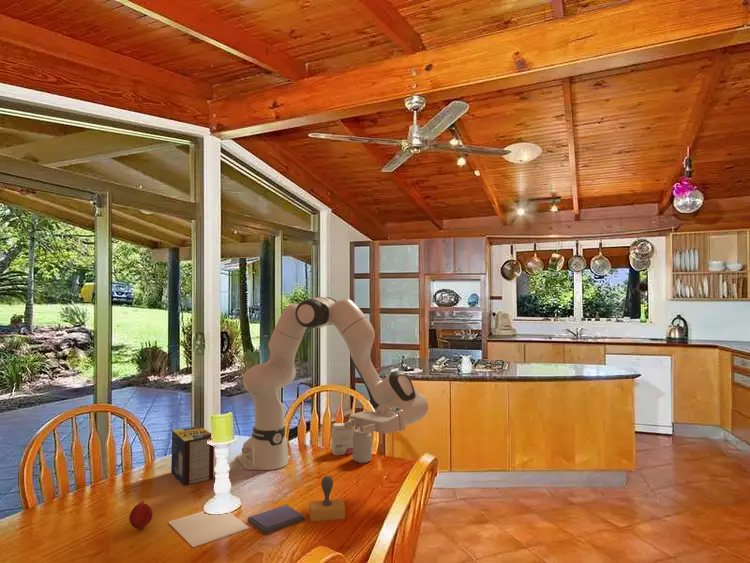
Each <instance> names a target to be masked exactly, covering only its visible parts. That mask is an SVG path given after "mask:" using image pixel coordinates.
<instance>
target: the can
mask: <svg viewBox="0 0 750 563" xmlns="http://www.w3.org/2000/svg"><path fill="white" fill-rule="evenodd" d="M372 436H373V433H372V432H366V433H362V432H361V429H360V428H359V427H358V428H356V429H354V433H353V454H352V459H353V461H354V462H355V463H357V462H358V463H359V464H367V463H369V462H370V461H371V460H372V451H373V450H372V446H373V444H372V442H373V437H372Z"/></svg>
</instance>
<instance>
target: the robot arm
mask: <svg viewBox="0 0 750 563" xmlns="http://www.w3.org/2000/svg"><path fill="white" fill-rule="evenodd" d="M330 325H333V326H334V327H335V328H336V329H337V331H338V332H339V334H340V336H342V338H343V339H344V342H345V344H346V345H347V349H348V350H349V355H350V359H351V362H352V363H353V365H354V368H355V369H356V371H357V373H358V375H359V377H360V379H361V381H362V382H363V385H364V387H365V388H366V391H367V394H368V398H369V401H370V403H371V405H372V406H373V407H374V408H375V409H376V410H375V411H372V410H364V411H358V412H355V413H352V414H350V415H349V416H348V421H346V422H343V423H344V428H346V429H349V428H351V427H352V426H354V428H358V429H359V428H360V429H361V432H362V433H366V432H370V433H372V432H376V433H380V434H391V433H396V432H403V431H406V425H412V424H414V423H416V422H418V421H420V420H422V419H424V418H425V417H426V415H427V414H428V412H429V402H428V400H427V397H425V395H423V394H422V393H420V392H419V391H418V390H417V389H416V388H415V386H414V385H413V381H412V379H411V377H410V376H409V375H408V374H407V373H405V372H403V371H401V370H395V371H393V372H391V373H389V374H388V375H387V376H385V377H384V379H383V380H382V379H381V377H380V375H379V374H378V372H377V370H376V368H375V366H374V364H373V362H372V359H371V354H372V353H371V352H372V348H373V344H374V342H375V338H376V332H375V328H374V327H373V324H372V323H371V322H370V320H369V319H368V317H367V316H366V315H365V313H363V311H362V309H360V308H359V306H358V305H357V304H356V303H355V302H354V301H353V300H352V299H350V298H340V299H339V300H336V299H334V298H332V297H327V296H326V297H323V296H317V297H315V298H314V297H313V298H312V297H311V298H306V299H304V300H302V301H301V302H300V303H290V304H288V305H287V306H286V307H285V308H284V310H283V312H282V313H281V315H280V316H279V319H278V320H277V322H276V325H275V327H274V329H273V332H272V334H271V337H270V339H269V342H268V345H267V347H268V349H269V351H270V353H269V359H268V360H267V361H266V362H263V363H259V364H255V365H254V366H252V367H250V368H249V369H247V370H246V371H245V372H244V373H243V377H242V383H243V387H244V389H245V390H246V391H247V392H248V393H249V395H250V396H251V399H252V402H253V405H254V426H252V427H251V430H252V433H251V436H250V437H249V438H248V439H247V440H246V441H244V443H243V445H242V448H241V453H239V454H237V455H236V456H235V459H236V460H237V461H238V462H239V463H240V464H241V466H242V467H243V468H244V469H245V470H248V471H249V470H250V471H252V470H258V471H272V470H277V469H281V468H284V467H286V466H287V465H288V463H289V461H290V460H291V456H290V455H289V452H288V451H289V450H288V439H287V437H285V436H286V426H285V406H284V404H283V402H281V401H280V399H279V395H278V394H279V393H278V390H279V389H282V388H285V387H287V386H288V385H289V384H291V383H292V382H293V381H295V378H296V374H297V371H296V368H295V360H296V354H297V352H298V350H299V347H300V345H301V342H302V340H303V338H304V335H305V332H306V330H307V329H317V328H318V329H319V328H324V327H327V326H330Z"/></svg>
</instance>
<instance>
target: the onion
mask: <svg viewBox="0 0 750 563" xmlns="http://www.w3.org/2000/svg"><path fill="white" fill-rule="evenodd" d="M153 515H154V514H153V509H152V508H151V507H150V505H149V504H147V503H145V501H144V500H141V501H140V502H138V504H136V505H135V506H134V507H133V508H132V510H131V512H130V514H129V518H128V519H129V523H130V525H131V526H132V527H133V528H135V529H138V530H140V531H143V529H145V528H146V527H147V526H148V525H149V524H150V523H151V521H152V519H153Z"/></svg>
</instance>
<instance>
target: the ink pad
mask: <svg viewBox="0 0 750 563" xmlns="http://www.w3.org/2000/svg"><path fill="white" fill-rule="evenodd" d="M305 520H306V515H304V514H302V513H300V512H299V511H298V510H296V509H294V508H293V507H290V506H289V505H288V504H284V505H281V506H278V507H275V508H272V509H269V510H267V511H263V512H260V513H257V514H253V515H251V516H248V517H247V523H249V524H250V525H251V526H252V527H254V528H256V529H257V530H258V531H259V532H261V533H262V534H263V535H264V536H265V535H268V534H269V535H270V534H271V533H274V532H277V531H280V530H283V529H285V528H288V527H290V526H293V525H296V524H299V523H301V522H304V521H305Z"/></svg>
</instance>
